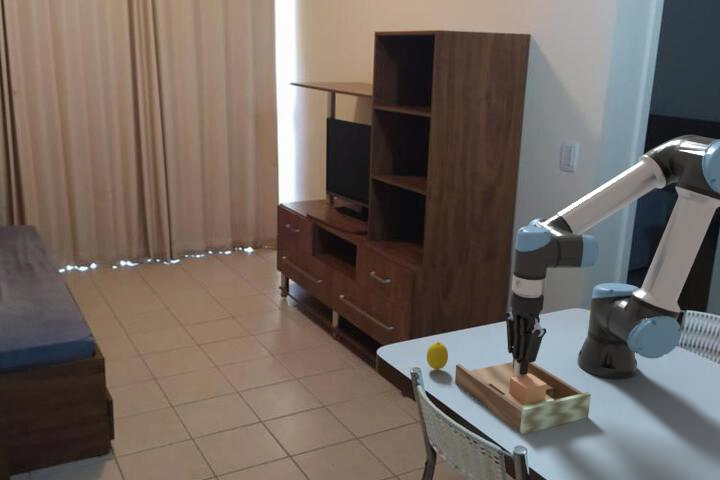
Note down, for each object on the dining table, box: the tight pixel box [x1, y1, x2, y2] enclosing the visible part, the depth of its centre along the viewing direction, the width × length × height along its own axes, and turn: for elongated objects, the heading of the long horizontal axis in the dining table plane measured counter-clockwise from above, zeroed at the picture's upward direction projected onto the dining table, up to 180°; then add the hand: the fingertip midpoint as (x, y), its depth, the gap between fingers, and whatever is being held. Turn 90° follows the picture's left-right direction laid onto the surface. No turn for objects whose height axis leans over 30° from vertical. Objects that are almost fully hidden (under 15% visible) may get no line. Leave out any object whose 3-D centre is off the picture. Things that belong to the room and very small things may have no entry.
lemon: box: [426, 341, 449, 371], centre depth 185 cm, size 6×6×8 cm
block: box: [509, 374, 547, 404], centre depth 168 cm, size 6×6×4 cm
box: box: [454, 357, 592, 435], centre depth 171 cm, size 19×27×6 cm
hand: (518, 384), depth 171 cm, fingers closed
